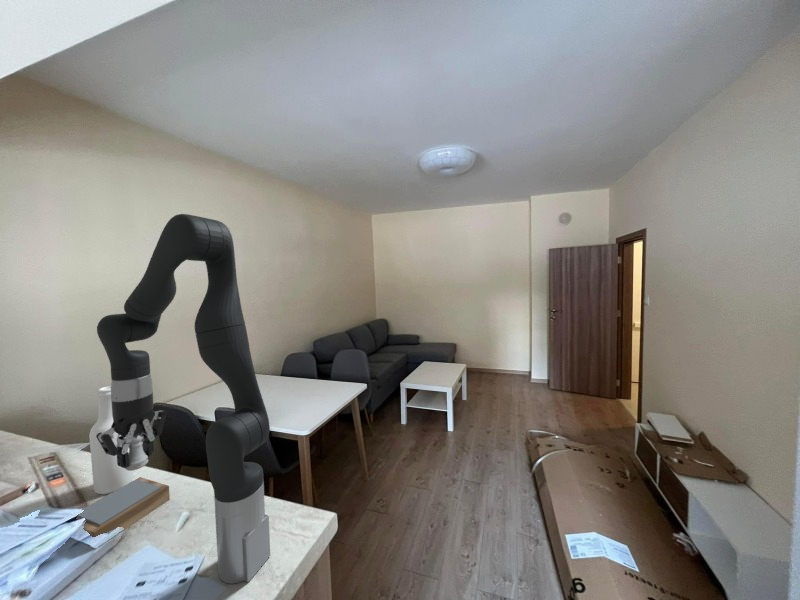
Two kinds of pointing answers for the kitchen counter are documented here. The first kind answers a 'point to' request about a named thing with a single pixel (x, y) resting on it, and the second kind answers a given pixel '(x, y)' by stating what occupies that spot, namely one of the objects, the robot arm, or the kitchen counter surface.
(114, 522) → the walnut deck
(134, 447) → the rook chess piece
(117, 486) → the alcohol
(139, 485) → the slate mat
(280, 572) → the kitchen counter surface
